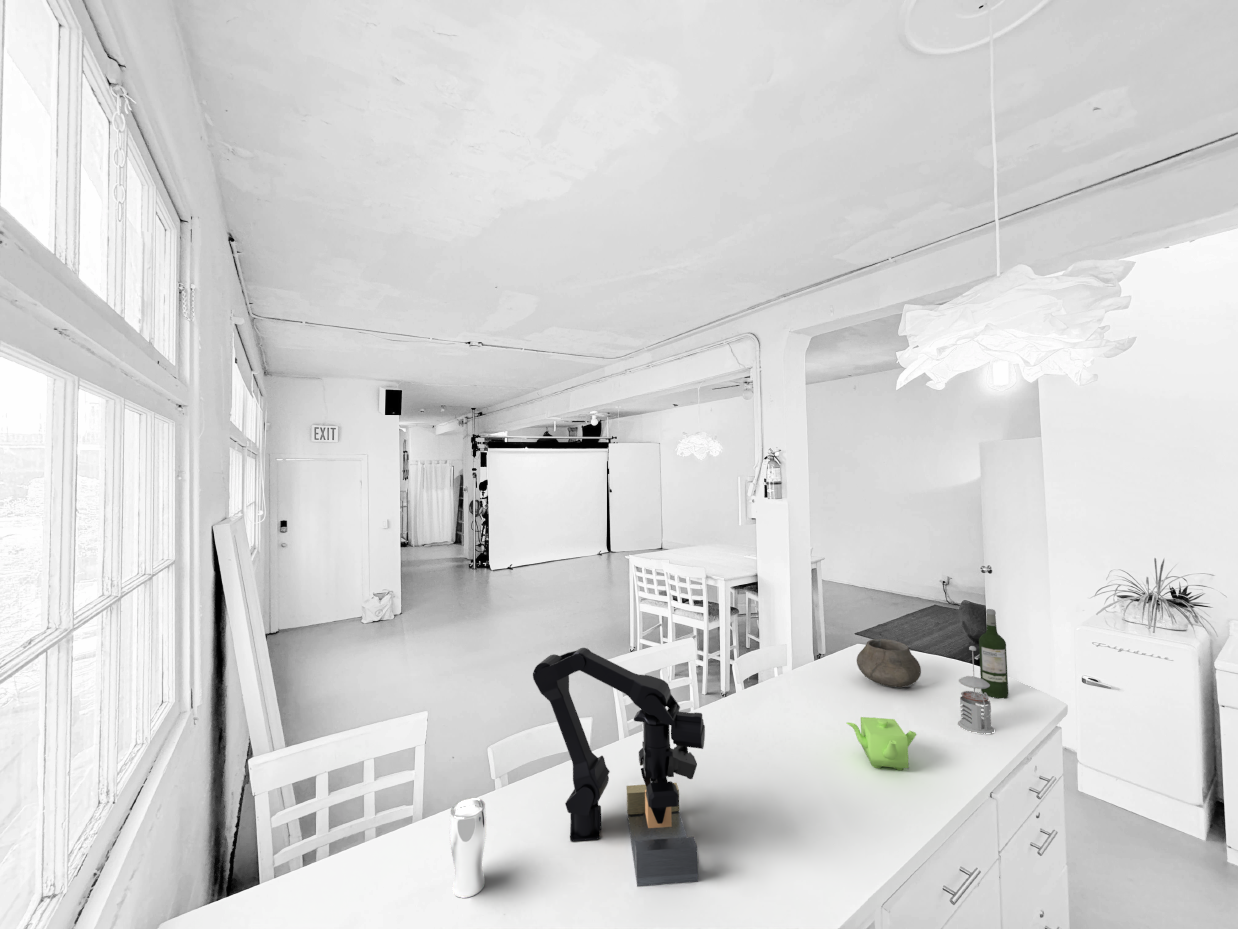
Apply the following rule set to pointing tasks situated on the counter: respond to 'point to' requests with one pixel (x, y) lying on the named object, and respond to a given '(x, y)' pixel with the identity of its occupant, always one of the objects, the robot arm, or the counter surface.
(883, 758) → the kettle
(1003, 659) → the wine bottle
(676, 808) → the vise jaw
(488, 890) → the counter surface
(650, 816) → the block
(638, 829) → the vise bed
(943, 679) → the counter surface
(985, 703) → the french press
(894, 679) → the clay pot
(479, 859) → the beer glass
